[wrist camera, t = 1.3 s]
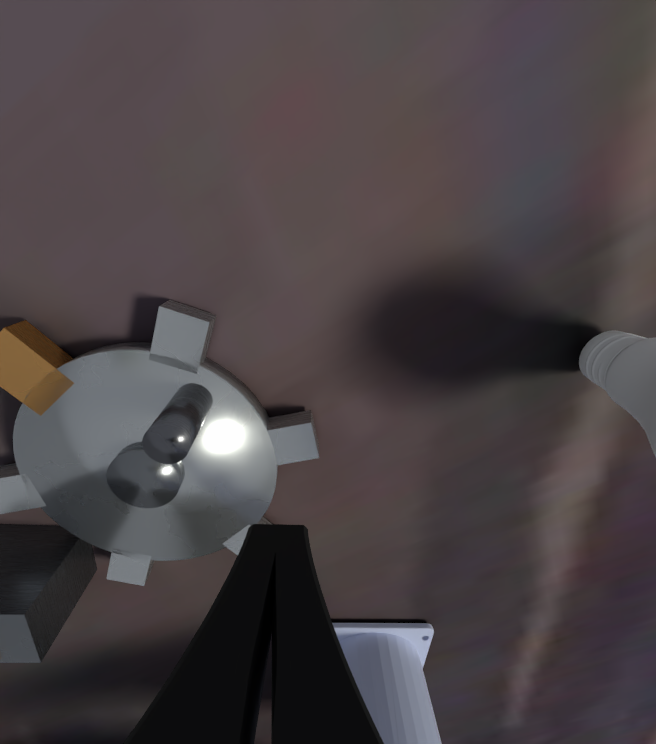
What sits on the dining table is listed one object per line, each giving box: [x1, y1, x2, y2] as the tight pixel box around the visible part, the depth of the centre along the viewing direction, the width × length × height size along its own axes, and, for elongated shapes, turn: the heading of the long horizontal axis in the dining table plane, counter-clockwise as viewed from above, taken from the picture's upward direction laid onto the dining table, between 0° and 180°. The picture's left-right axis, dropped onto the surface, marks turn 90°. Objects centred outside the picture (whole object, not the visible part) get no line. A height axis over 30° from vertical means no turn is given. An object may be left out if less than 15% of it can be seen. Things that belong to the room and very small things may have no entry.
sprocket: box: [0, 300, 319, 586], centre depth 16 cm, size 16×16×5 cm
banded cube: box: [0, 524, 97, 663], centre depth 19 cm, size 3×5×5 cm
